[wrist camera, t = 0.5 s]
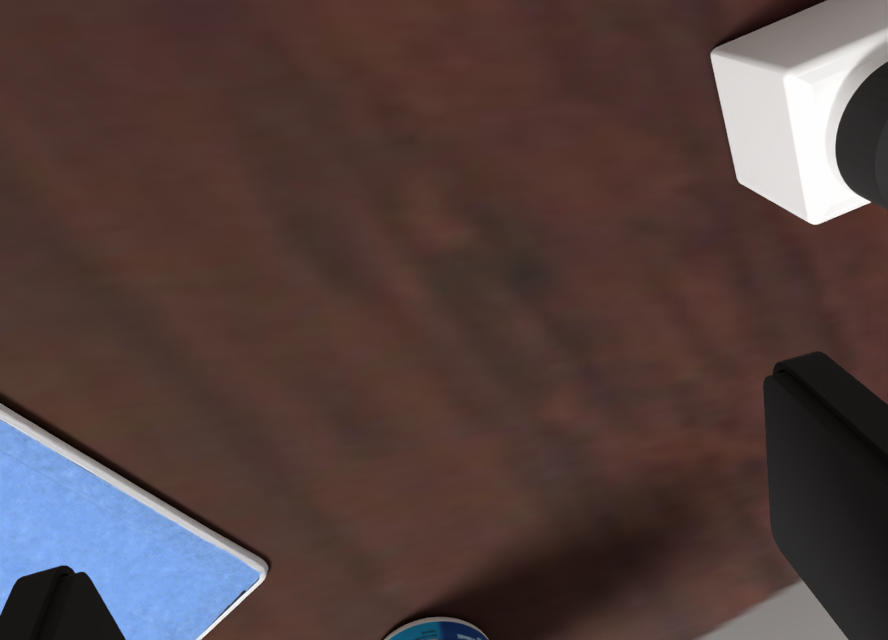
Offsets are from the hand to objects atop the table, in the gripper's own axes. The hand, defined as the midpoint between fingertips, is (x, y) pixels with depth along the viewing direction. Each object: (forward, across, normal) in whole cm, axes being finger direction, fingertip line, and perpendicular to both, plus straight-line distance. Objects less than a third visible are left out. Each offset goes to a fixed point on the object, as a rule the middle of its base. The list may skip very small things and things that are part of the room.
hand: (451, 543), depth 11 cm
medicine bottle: (+30, -21, +4) cm, 37 cm away
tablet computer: (+30, +22, +19) cm, 42 cm away
